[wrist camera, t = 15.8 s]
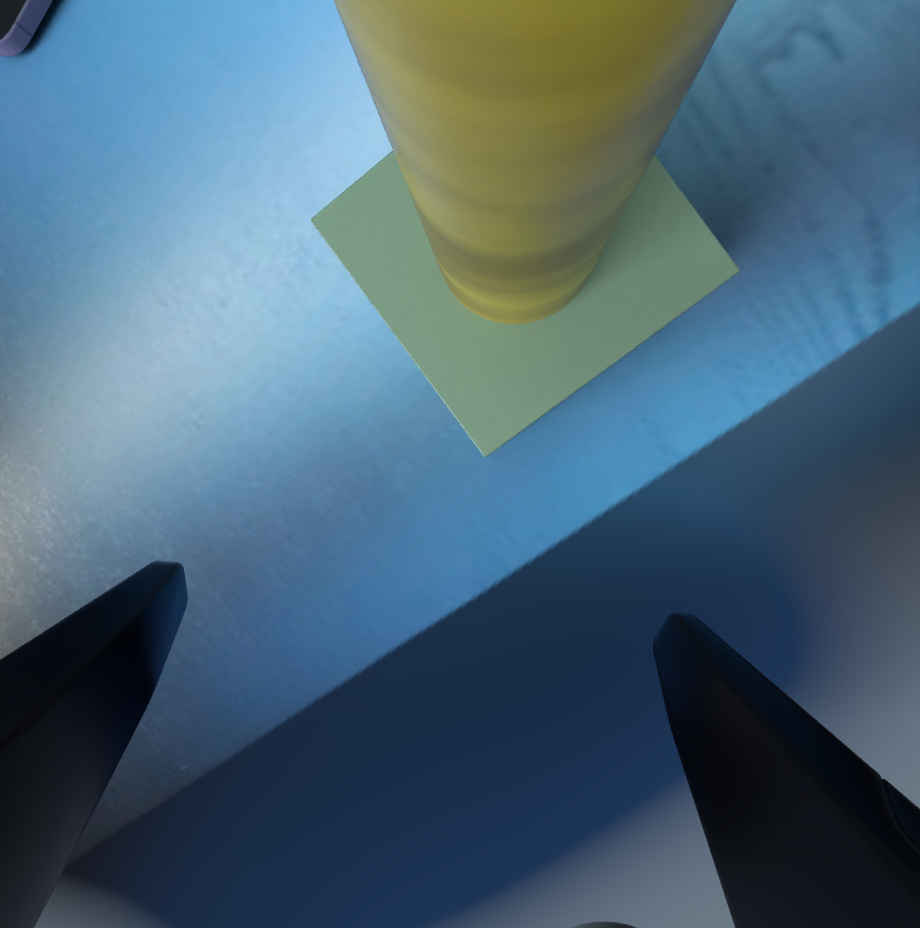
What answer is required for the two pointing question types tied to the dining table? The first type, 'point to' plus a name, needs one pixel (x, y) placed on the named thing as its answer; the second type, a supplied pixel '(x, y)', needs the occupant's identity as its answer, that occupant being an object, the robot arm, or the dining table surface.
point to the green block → (531, 344)
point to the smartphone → (19, 23)
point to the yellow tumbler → (526, 127)
